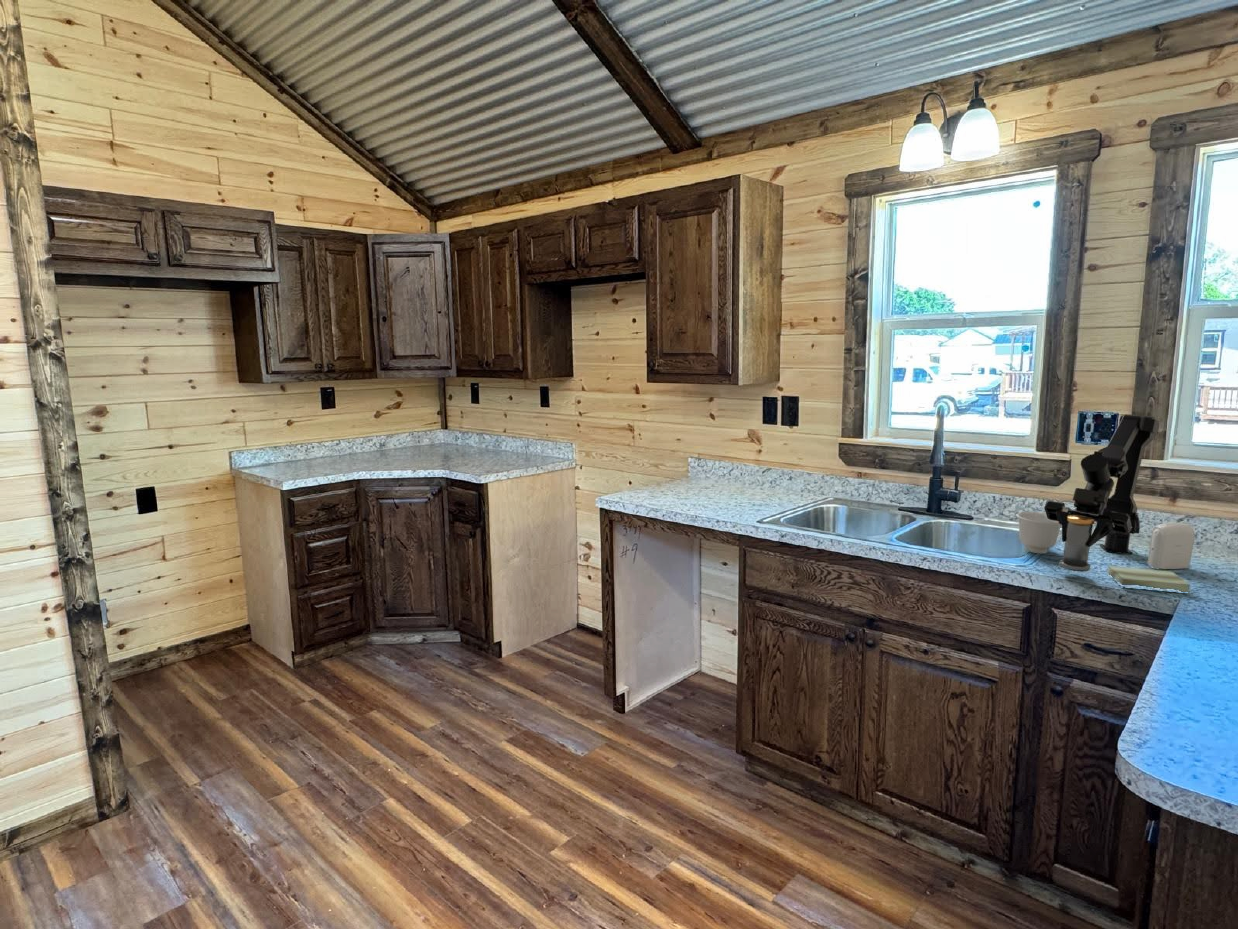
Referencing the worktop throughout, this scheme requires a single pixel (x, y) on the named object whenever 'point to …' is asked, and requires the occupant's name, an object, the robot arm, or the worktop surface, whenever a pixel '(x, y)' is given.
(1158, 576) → the stand
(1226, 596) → the worktop surface
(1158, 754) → the worktop surface
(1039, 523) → the teacup
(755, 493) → the worktop surface
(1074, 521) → the cylinder
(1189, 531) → the photo printer
